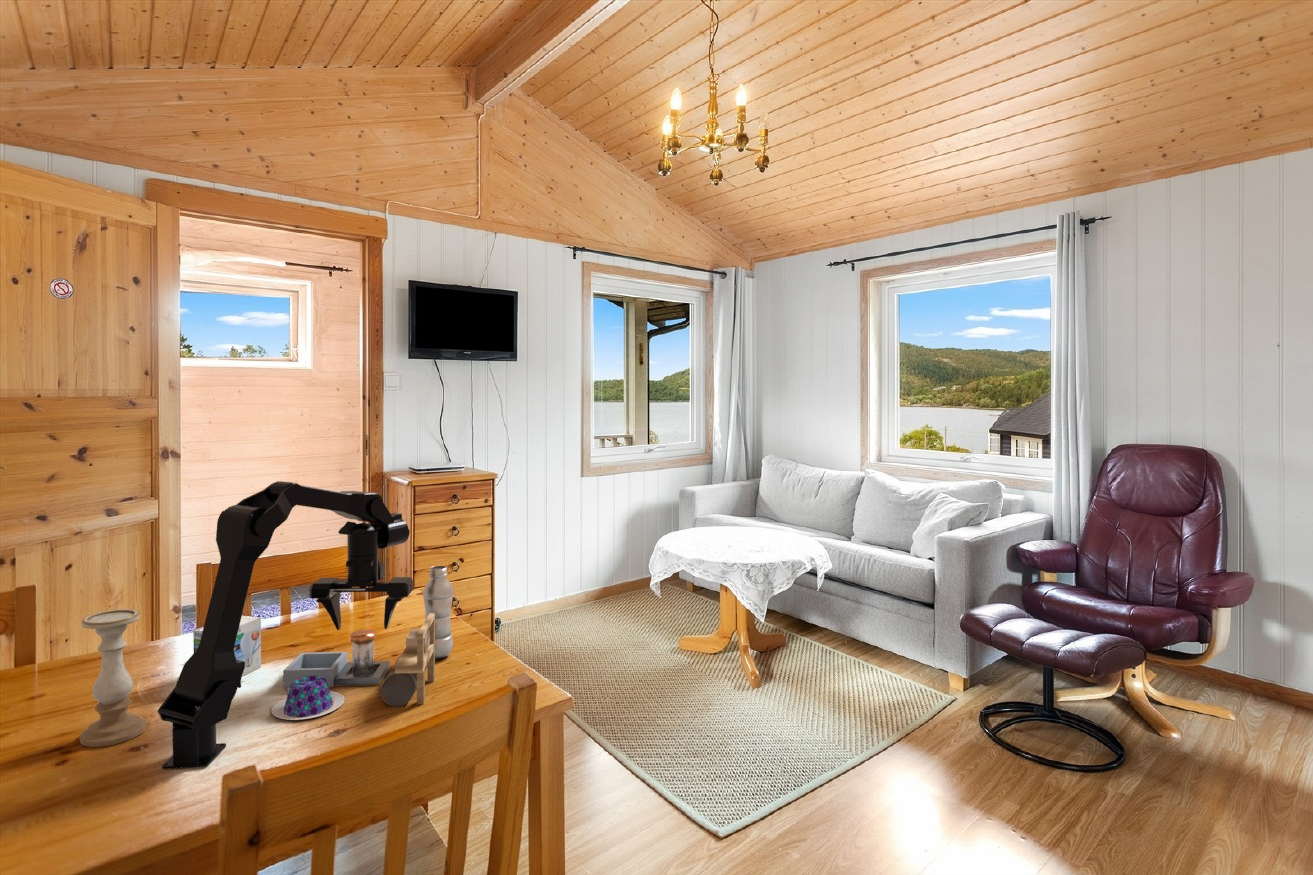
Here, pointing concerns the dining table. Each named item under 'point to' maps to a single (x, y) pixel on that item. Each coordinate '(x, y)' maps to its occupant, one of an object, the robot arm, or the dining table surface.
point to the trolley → (412, 667)
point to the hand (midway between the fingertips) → (362, 628)
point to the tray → (315, 666)
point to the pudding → (307, 699)
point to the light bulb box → (243, 643)
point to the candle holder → (112, 682)
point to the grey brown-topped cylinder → (363, 652)
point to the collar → (354, 680)
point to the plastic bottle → (440, 608)
